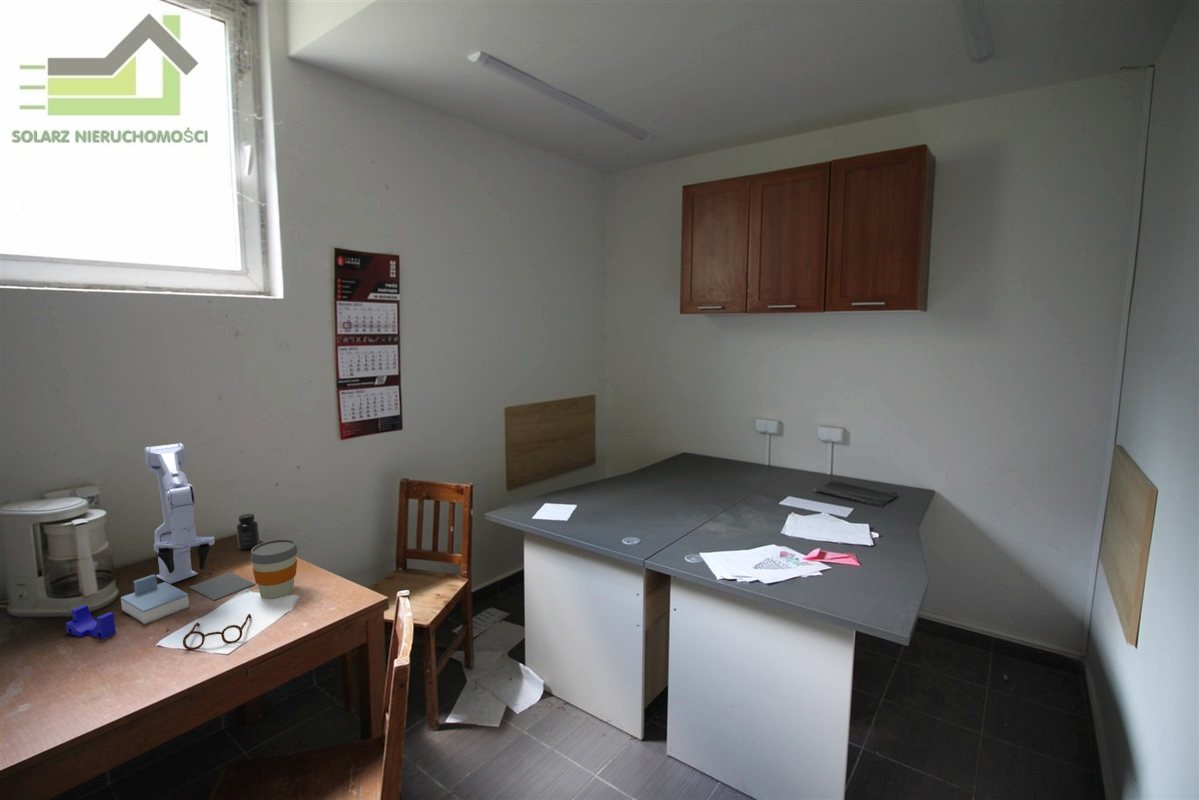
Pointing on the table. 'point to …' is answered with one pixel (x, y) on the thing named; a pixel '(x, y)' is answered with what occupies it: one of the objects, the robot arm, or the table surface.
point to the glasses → (214, 634)
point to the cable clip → (90, 624)
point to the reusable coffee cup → (274, 567)
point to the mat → (221, 586)
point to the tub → (155, 610)
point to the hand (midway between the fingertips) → (187, 569)
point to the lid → (152, 594)
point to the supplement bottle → (247, 532)
